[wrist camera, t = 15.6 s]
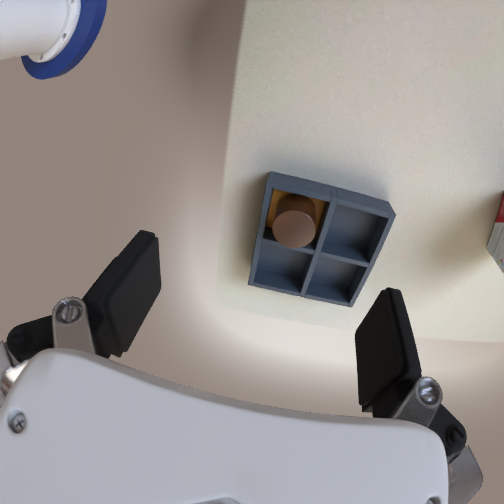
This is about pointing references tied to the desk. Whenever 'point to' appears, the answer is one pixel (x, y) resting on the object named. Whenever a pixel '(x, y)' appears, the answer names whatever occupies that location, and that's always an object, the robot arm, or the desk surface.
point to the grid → (321, 242)
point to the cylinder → (294, 221)
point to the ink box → (498, 239)
